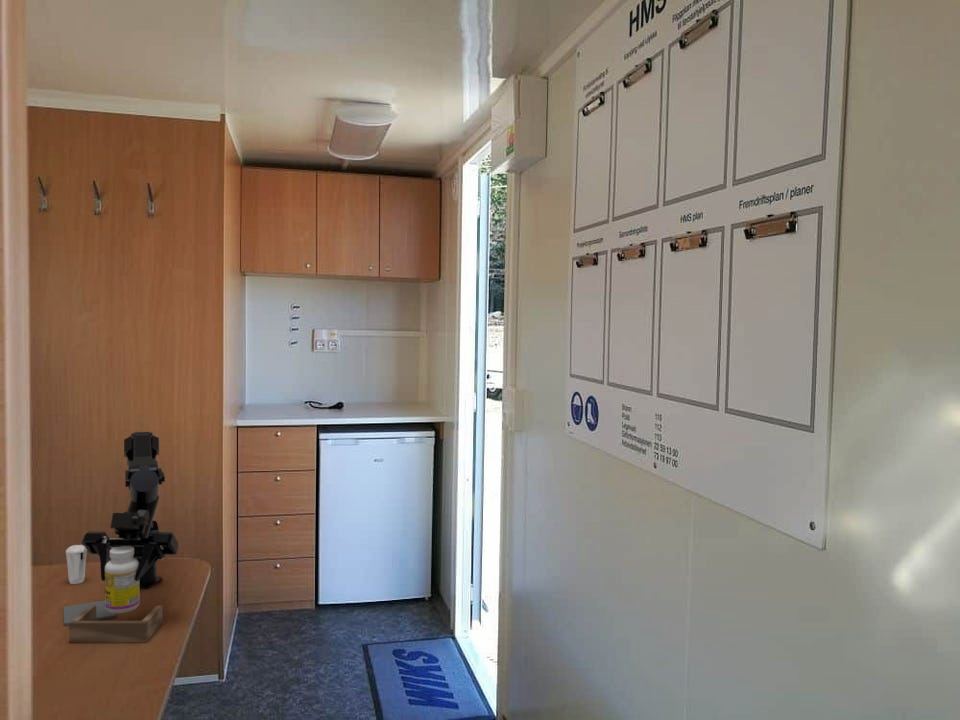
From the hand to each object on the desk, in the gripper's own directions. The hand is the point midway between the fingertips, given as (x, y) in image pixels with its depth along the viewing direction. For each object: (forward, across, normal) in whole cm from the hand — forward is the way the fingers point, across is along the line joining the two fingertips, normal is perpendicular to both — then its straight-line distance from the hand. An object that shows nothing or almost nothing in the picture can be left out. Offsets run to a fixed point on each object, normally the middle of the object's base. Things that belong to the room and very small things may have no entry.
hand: (119, 580), depth 155 cm
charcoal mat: (+2, -10, +14) cm, 17 cm away
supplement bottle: (+4, 0, +6) cm, 7 cm away
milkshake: (-11, -22, +27) cm, 37 cm away
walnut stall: (+9, 0, +7) cm, 11 cm away
